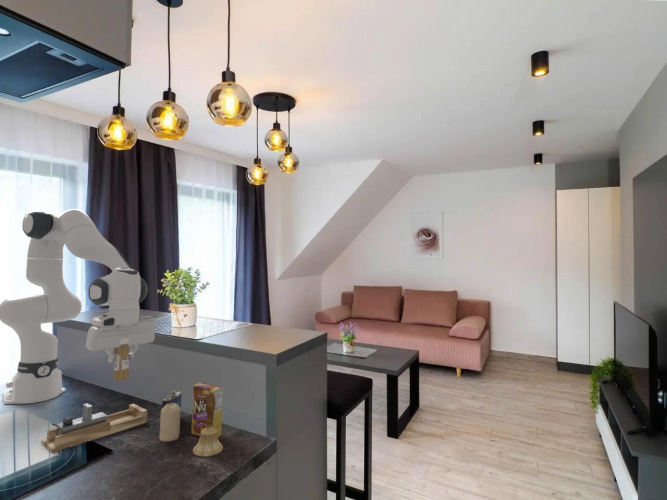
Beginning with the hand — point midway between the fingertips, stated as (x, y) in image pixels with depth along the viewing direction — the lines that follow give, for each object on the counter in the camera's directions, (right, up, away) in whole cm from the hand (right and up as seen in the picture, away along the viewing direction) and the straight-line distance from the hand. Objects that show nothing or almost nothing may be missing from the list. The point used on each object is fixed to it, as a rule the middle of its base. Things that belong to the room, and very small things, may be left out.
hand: (121, 360), depth 121 cm
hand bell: (+33, -22, -14) cm, 42 cm away
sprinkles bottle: (0, -6, 0) cm, 6 cm away
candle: (+19, -22, -8) cm, 30 cm away
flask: (+15, -22, +2) cm, 27 cm away
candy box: (+29, -22, -5) cm, 37 cm away
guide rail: (-4, -21, -6) cm, 22 cm away
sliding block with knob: (-7, -19, -9) cm, 22 cm away
